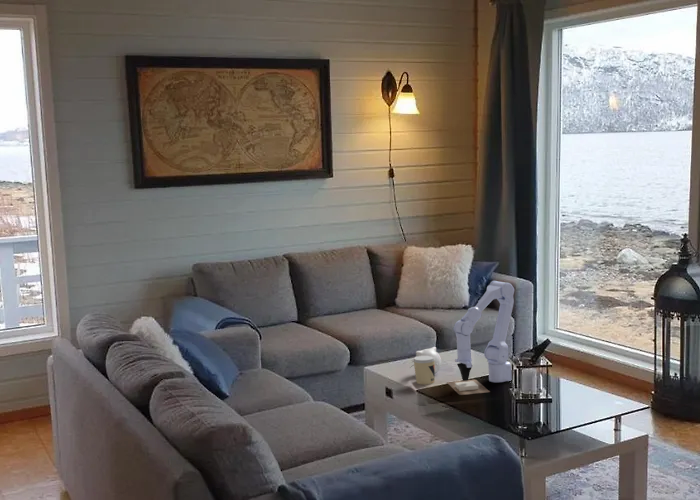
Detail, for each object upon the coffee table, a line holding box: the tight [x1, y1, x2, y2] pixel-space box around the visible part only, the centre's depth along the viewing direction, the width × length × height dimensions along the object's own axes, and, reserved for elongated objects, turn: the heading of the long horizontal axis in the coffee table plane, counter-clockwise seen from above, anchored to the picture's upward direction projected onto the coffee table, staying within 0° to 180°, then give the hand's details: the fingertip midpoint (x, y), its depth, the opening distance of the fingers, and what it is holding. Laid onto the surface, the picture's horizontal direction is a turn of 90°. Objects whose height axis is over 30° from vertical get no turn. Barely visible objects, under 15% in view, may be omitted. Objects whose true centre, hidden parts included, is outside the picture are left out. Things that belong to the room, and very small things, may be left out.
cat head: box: [409, 346, 442, 375], centre depth 360 cm, size 15×13×12 cm
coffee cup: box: [412, 355, 436, 386], centre depth 346 cm, size 9×9×12 cm
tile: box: [455, 381, 478, 391], centre depth 333 cm, size 8×2×7 cm
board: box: [446, 379, 491, 396], centre depth 335 cm, size 13×20×1 cm, turn 8°
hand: (465, 380), depth 334 cm, fingers closed
